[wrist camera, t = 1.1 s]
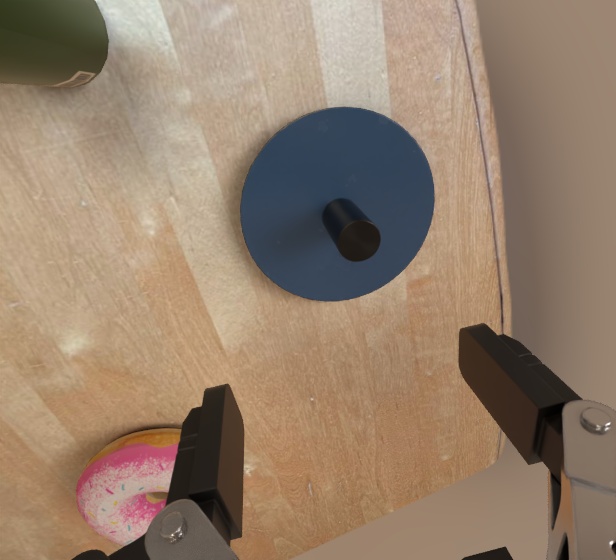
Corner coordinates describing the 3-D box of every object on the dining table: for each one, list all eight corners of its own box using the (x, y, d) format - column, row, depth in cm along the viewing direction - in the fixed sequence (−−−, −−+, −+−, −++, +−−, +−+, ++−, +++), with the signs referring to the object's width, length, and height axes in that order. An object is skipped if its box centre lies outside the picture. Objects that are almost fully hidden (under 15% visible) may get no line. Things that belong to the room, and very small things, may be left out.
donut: (255, 483, 38) (255, 533, 34) (137, 521, 38) (122, 576, 34) (204, 398, 32) (197, 446, 28) (63, 443, 32) (33, 498, 28)
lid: (209, 142, 23) (197, 155, 17) (417, 79, 23) (468, 73, 17) (274, 315, 29) (279, 364, 24) (435, 266, 29) (477, 304, 24)
